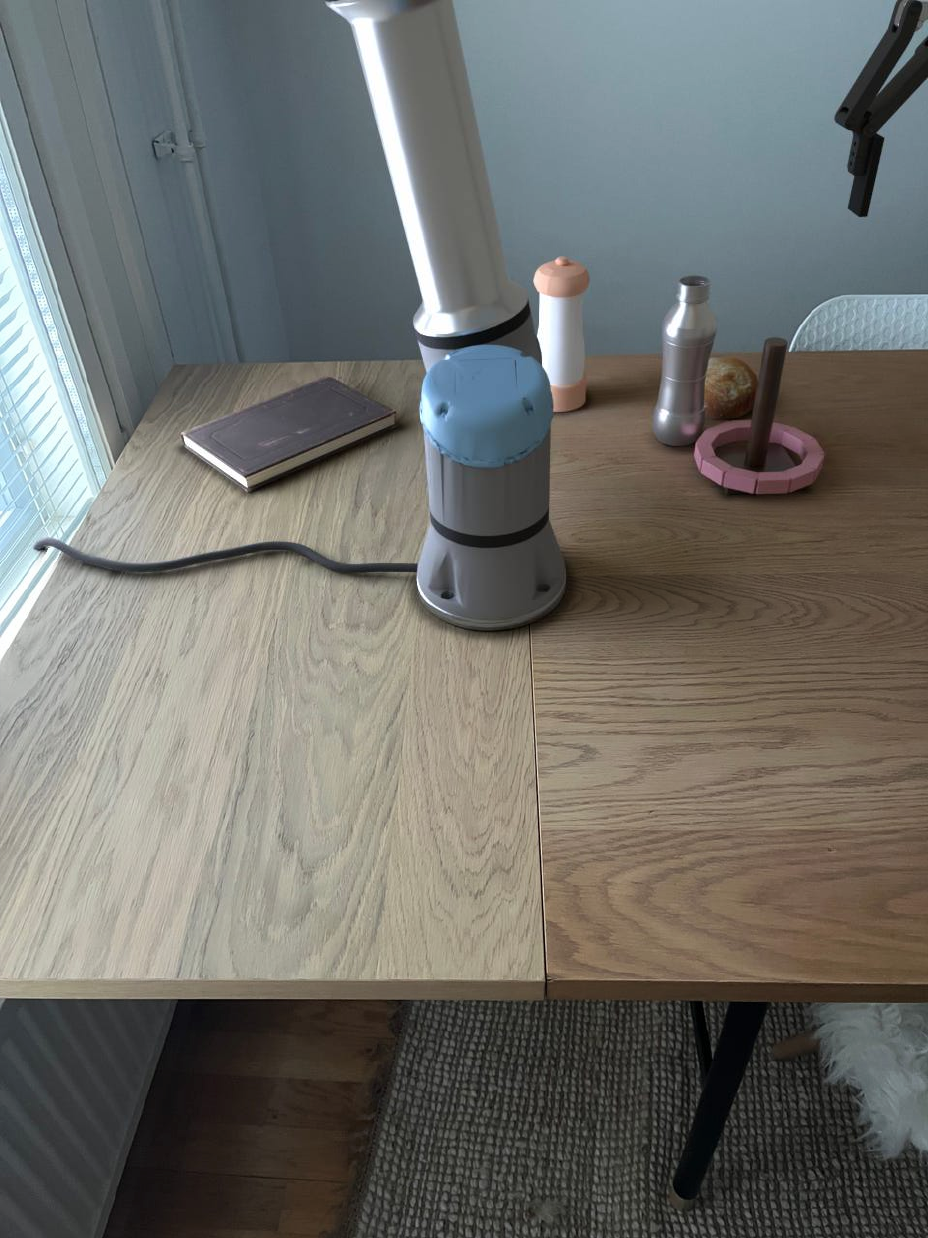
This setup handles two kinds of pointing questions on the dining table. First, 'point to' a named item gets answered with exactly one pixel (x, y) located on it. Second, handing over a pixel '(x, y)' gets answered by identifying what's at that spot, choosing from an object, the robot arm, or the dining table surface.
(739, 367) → the bread roll
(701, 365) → the silver bottle
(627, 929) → the dining table surface
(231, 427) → the hardcover book
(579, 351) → the salt shaker
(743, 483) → the ring
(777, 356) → the stand
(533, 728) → the dining table surface
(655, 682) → the dining table surface
